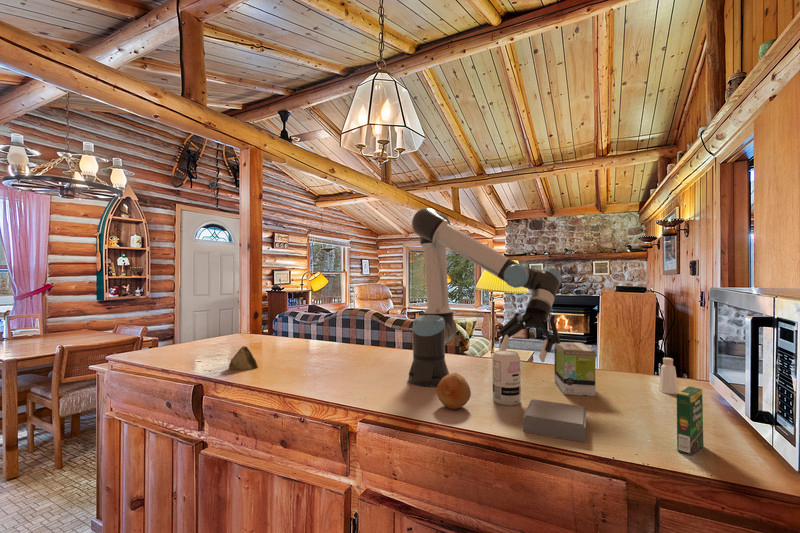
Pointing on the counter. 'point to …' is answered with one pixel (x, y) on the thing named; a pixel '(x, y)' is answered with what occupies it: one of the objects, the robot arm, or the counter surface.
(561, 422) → the base block
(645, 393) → the counter surface
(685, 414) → the coffee box
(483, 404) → the counter surface
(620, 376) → the counter surface
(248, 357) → the rock
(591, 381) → the tea box
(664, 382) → the pepper shaker
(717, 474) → the counter surface
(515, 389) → the supplement can
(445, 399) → the onion
